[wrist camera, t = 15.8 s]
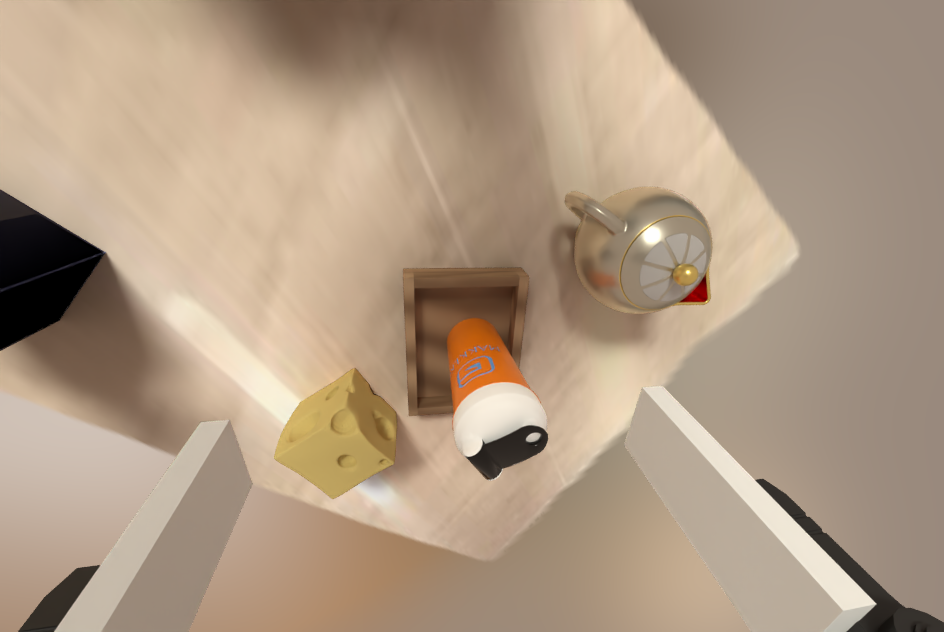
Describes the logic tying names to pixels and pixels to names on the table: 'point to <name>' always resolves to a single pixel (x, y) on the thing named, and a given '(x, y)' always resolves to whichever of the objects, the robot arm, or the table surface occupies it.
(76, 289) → the vase
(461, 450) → the shaker bottle
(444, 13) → the table surface
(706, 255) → the teapot
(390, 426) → the cheese
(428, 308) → the tray
